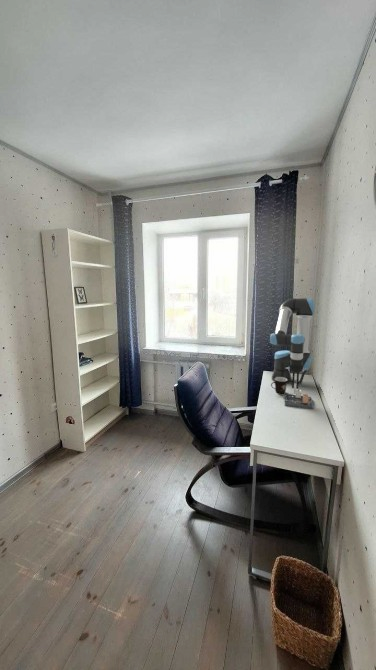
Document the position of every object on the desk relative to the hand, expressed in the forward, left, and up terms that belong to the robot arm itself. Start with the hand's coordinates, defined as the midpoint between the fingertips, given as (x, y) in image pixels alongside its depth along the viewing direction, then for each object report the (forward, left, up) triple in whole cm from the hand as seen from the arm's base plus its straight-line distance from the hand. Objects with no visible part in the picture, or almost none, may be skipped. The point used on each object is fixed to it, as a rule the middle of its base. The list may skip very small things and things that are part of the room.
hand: (294, 392), depth 179 cm
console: (+3, +2, -5) cm, 6 cm away
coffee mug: (-10, -11, -5) cm, 15 cm away
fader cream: (0, +2, -3) cm, 3 cm away
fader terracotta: (+7, +6, -3) cm, 10 cm away
